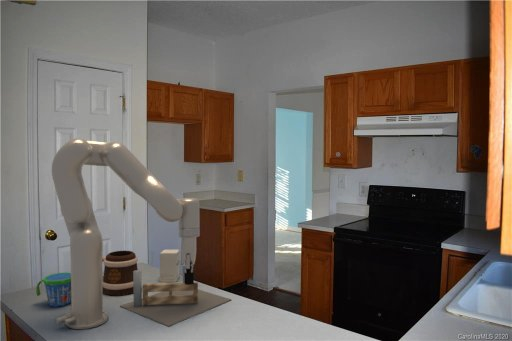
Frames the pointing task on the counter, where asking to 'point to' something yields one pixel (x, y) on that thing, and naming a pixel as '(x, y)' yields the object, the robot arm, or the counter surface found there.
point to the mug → (119, 272)
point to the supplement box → (169, 265)
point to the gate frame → (138, 286)
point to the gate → (170, 293)
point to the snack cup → (57, 288)
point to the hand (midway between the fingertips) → (189, 281)
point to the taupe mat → (177, 307)
